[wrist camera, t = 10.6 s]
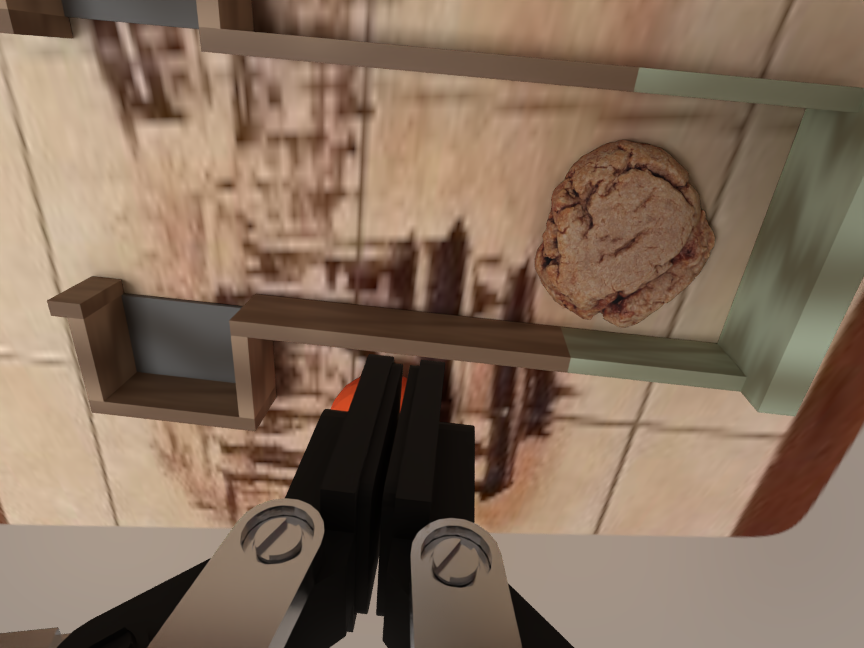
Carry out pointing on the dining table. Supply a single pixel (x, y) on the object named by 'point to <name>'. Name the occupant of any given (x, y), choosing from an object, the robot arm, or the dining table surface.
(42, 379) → the dining table surface
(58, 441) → the dining table surface
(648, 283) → the cookie
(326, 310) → the channel
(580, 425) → the dining table surface
